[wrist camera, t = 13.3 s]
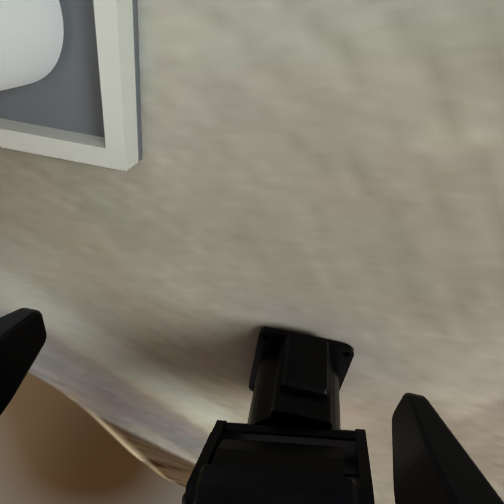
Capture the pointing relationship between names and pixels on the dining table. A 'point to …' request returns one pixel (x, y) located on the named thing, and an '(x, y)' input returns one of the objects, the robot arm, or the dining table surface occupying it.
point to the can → (29, 40)
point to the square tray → (83, 91)
